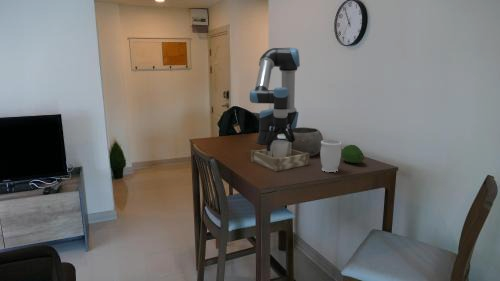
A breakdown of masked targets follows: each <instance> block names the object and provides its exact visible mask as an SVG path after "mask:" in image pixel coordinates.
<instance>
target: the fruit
mask: <svg viewBox="0 0 500 281" xmlns="http://www.w3.org/2000/svg"><path fill="white" fill-rule="evenodd" d="M341 158H342V159H343V161H345V162H347V163H349V162H350V163H349V164H356V163H361V162H363V161H364V160H365V156H364V153H363V151H362V150H361V149H360V148H359V146H357V145H356V144H349V145H345V146H344V147H343V148H342V149H341Z"/></svg>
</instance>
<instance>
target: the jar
mask: <svg viewBox="0 0 500 281" xmlns="http://www.w3.org/2000/svg"><path fill="white" fill-rule="evenodd" d="M342 143H343V142H341V141H340V140H335V139H334V140H332V139H326V140H325V139H323V141H321V144H322V146H321V150H320V152H319V156H320V164H321V166H322V167H321V171H323V172H324V171H325V172H324V173H329V172H334V173H337V172H338V171H339V169H338V168H339V166H340V163H341V158H342V155H341V152H342V147H341V146H342ZM336 171H337V172H336Z"/></svg>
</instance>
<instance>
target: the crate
mask: <svg viewBox="0 0 500 281" xmlns="http://www.w3.org/2000/svg"><path fill="white" fill-rule="evenodd" d="M309 154H310V153H307V152H306V153H303V152H300V151H297V150H293V149H291V154H289V153H287V154H286V157H284V158H274V157H273V150H272V157H270V156H268V151H267V148H263V149H257V150H256V149H251V150H250V163H255V164H256V165H260V166H262V167H264V168H267V169H269V170H272V171H274V172H276V171H277V172H280V171H284V170H289V169H293V168H297V167H303V166H309V165H310V157H309Z"/></svg>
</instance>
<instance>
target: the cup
mask: <svg viewBox="0 0 500 281" xmlns="http://www.w3.org/2000/svg"><path fill="white" fill-rule="evenodd" d="M288 144H289V142H288V141H285V140H279V139H278V140H276V141H273V142H272V150H273V157H274V158H284V157H286V154H287V149H288Z"/></svg>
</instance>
